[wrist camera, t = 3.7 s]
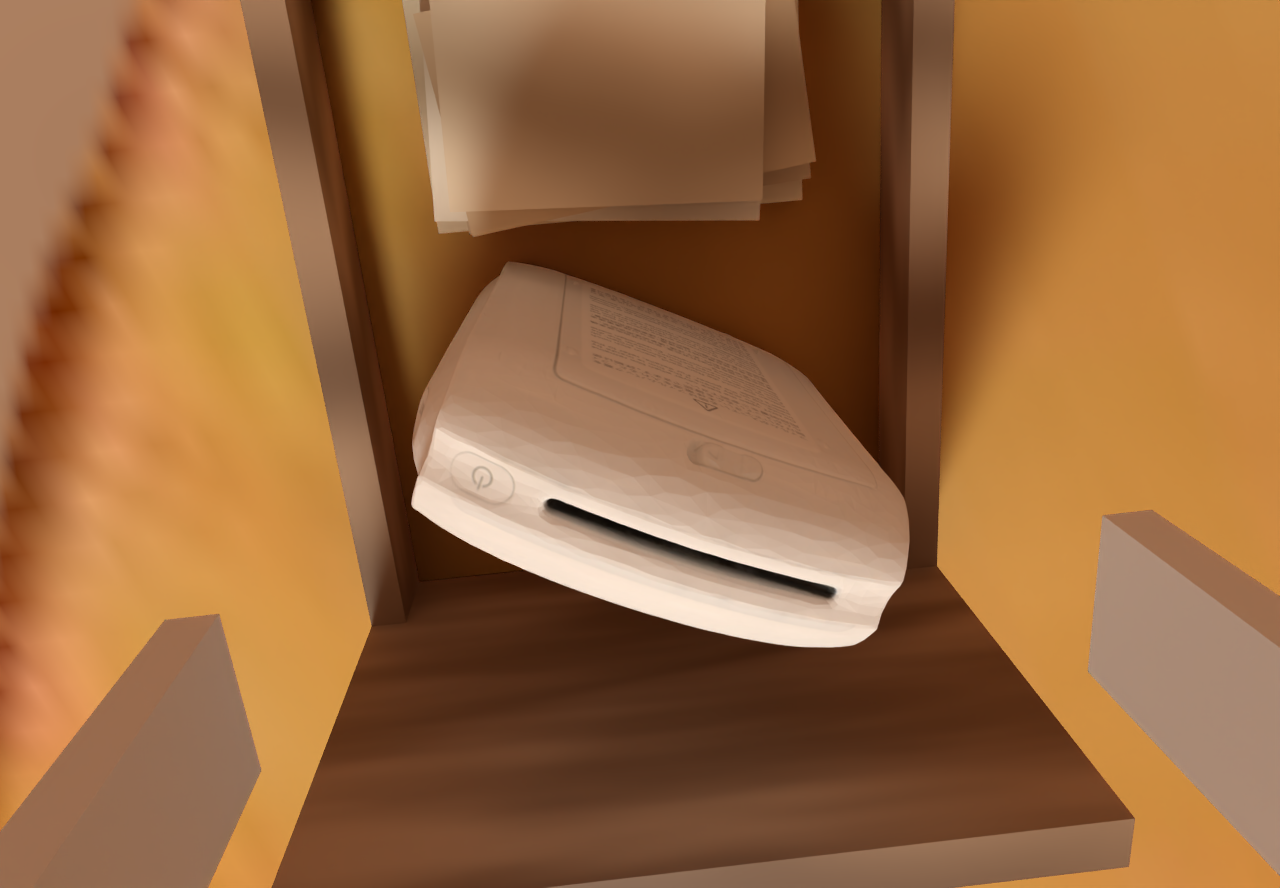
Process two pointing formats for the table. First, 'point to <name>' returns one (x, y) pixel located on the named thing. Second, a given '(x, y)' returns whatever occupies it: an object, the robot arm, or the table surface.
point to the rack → (669, 629)
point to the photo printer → (655, 466)
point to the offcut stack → (609, 109)
